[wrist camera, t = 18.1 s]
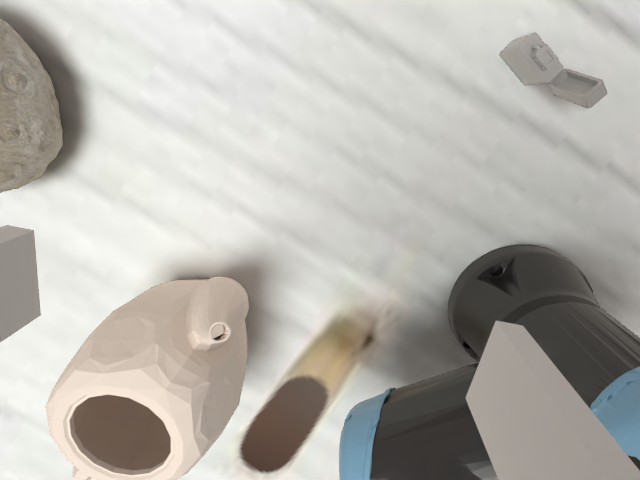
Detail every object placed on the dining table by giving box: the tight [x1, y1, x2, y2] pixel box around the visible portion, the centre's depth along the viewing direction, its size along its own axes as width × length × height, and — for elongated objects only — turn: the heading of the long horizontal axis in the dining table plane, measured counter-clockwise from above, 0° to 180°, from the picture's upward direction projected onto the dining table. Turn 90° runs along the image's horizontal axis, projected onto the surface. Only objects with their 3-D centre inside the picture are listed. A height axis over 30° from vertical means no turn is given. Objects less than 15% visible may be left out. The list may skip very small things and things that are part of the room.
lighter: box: [500, 33, 607, 108], centre depth 33 cm, size 7×2×8 cm, turn 47°
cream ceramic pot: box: [46, 277, 249, 480], centre depth 39 cm, size 16×27×19 cm, turn 139°
